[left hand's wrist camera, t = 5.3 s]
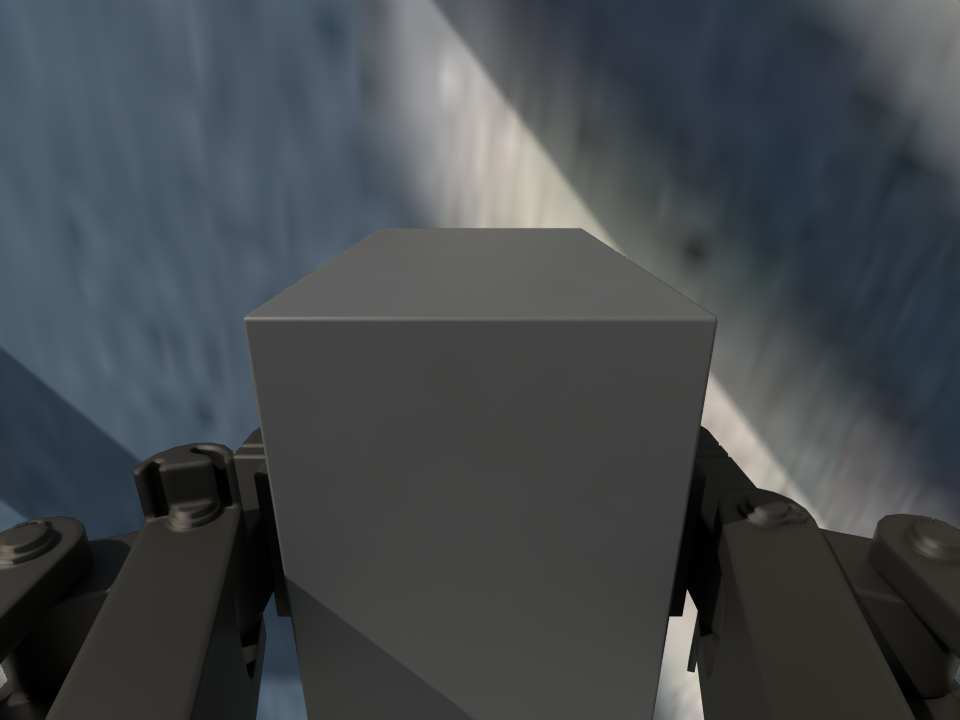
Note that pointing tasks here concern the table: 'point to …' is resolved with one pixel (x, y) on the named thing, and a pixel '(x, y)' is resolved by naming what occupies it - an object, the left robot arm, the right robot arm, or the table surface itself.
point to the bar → (480, 472)
